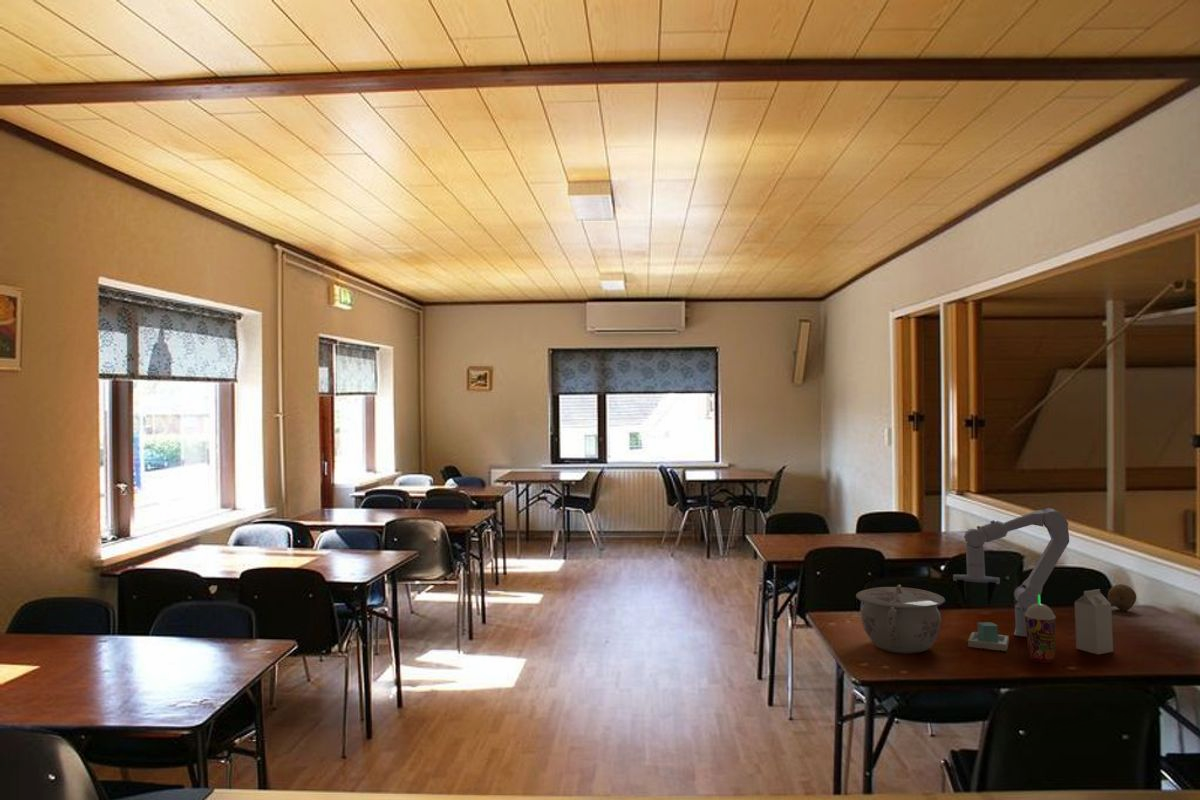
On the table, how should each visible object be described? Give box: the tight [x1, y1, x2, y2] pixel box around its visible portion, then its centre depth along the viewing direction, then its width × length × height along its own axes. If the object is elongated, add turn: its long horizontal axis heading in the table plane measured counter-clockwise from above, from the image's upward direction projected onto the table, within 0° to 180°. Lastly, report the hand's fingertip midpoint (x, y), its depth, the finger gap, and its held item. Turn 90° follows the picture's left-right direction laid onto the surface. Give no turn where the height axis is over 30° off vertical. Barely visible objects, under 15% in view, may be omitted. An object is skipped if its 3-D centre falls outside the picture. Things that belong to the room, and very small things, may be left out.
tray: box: [967, 631, 1010, 652], centre depth 253 cm, size 11×11×2 cm
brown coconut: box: [1107, 584, 1137, 612], centre depth 290 cm, size 9×9×10 cm
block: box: [976, 621, 999, 643], centre depth 254 cm, size 4×4×6 cm
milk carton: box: [1073, 588, 1114, 655], centre depth 244 cm, size 7×7×19 cm
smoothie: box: [1024, 595, 1057, 664], centre depth 236 cm, size 8×8×20 cm
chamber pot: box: [855, 583, 946, 655], centre depth 253 cm, size 28×28×21 cm
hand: (977, 602), depth 269 cm, fingers open, 7 cm apart
